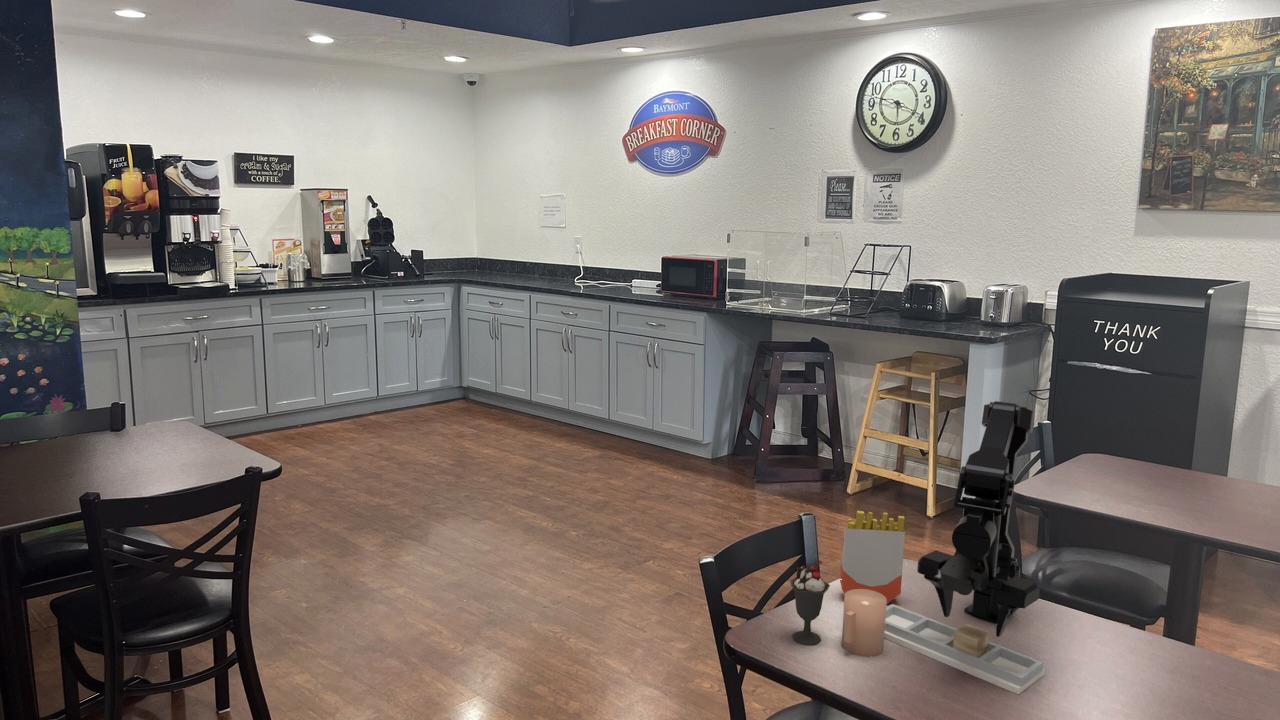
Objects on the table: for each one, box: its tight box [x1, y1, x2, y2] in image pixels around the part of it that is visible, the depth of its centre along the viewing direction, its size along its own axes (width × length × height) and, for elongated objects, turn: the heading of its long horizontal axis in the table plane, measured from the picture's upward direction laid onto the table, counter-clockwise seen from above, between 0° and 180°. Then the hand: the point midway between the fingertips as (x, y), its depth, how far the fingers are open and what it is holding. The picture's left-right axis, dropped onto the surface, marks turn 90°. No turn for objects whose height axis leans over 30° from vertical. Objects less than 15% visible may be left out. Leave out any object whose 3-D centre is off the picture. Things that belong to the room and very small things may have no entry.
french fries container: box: [839, 510, 906, 604], centre depth 174 cm, size 5×11×18 cm, turn 83°
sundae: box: [789, 560, 831, 646], centre depth 159 cm, size 7×7×15 cm
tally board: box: [884, 603, 1045, 695], centre depth 156 cm, size 9×28×2 cm, turn 42°
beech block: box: [953, 623, 990, 658], centre depth 153 cm, size 4×4×4 cm
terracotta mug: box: [841, 589, 888, 658], centre depth 156 cm, size 8×7×9 cm
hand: (972, 626), depth 153 cm, fingers open, 9 cm apart
